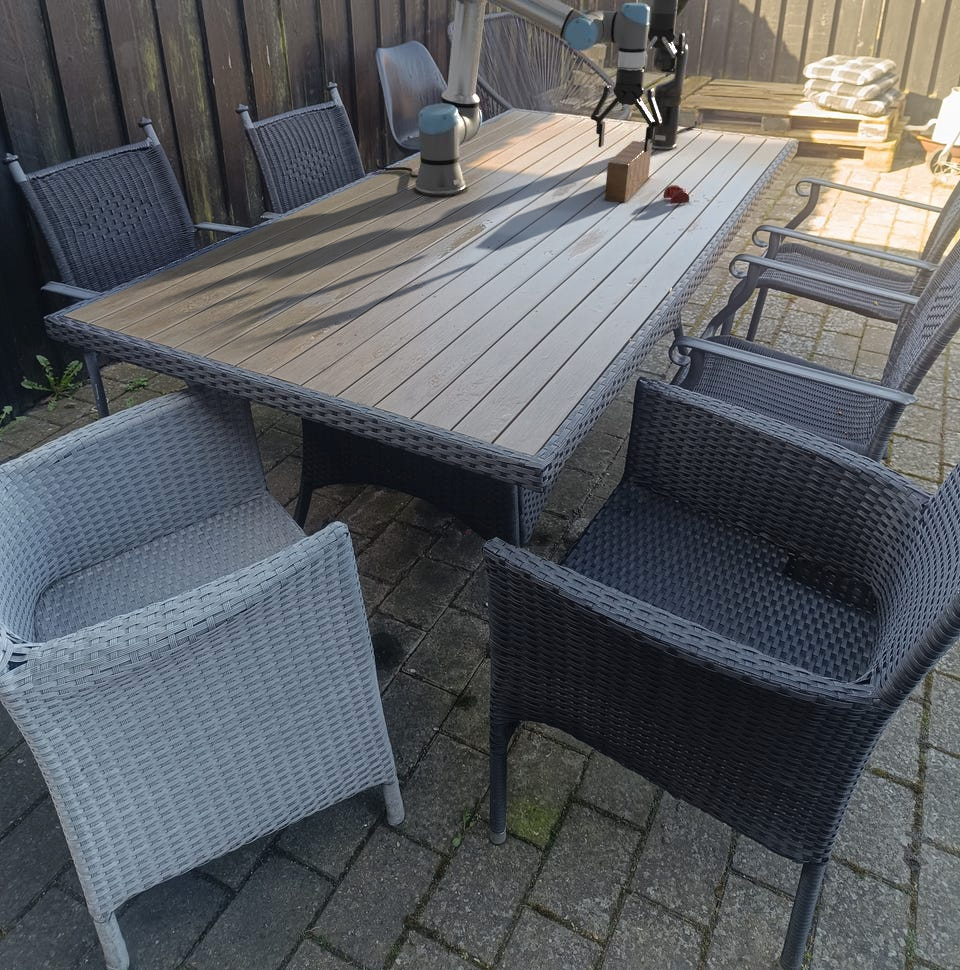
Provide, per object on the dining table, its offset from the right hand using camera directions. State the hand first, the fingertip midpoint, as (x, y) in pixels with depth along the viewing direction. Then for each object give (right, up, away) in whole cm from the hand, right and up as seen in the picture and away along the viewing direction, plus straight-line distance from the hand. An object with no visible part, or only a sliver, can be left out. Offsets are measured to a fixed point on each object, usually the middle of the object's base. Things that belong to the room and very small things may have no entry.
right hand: (657, 69), depth 263 cm
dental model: (+2, -46, -14) cm, 48 cm away
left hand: (-14, -32, -19) cm, 40 cm away
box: (-10, -39, -4) cm, 40 cm away
